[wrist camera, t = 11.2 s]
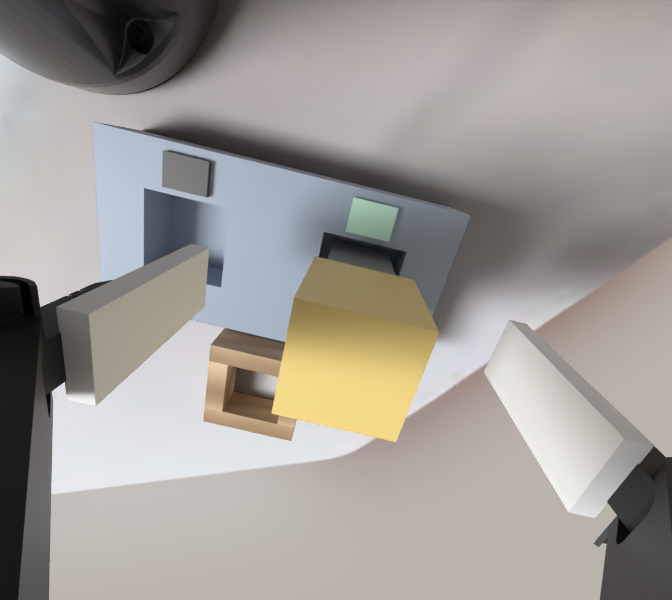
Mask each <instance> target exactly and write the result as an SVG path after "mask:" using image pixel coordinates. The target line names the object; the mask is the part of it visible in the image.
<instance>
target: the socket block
mask: <svg viewBox="0 0 672 600" xmlns="http://www.w3.org/2000/svg"><path fill="white" fill-rule="evenodd" d="M93 137H94V157H95V177H96V198H97V218H98V238H99V258H100V278H101V282H104V281H108V280H115V279H117V278H119V277H121V276H123V275H125V274H128V273H130V272H132V271H134V270H136V269H138V268H140V267H143V266H145V265H147V264H149V263H151V262H153V261H155V260H158V259H160V258H162V257H164V256H166V255H168V254H170V253H173V252H175V251H177V250H179V249H181V248H183V247H185V246H188V245H190V244H194V245H199V246H203V247H207V248H209V258H208V270H207V283H206V296H205V307H204V308H202V309H201V310H200V311H199V312H198V313H197V314H196V315H195V316H194V317H193V318H192V319H190V320H193V321H198V322H202V323H206V324H210V325H215V326H219V327H223V328H228V329H232V330H236V331H240V332H245V333H249V334H253V335H257V336H262V337H266V338H270V339H274V340H279V341H283V342H285V341H286V336H287V331H288V325H289V320H290V315H291V310H292V305H293V300H294V296H295V294H296V292H297V290H298V288H299V287H300V285H301V283H302V281H303V279H304V277H305V275H306V273H307V271H308V269H309V267H310V265H311V263H312V261H313V259H314V257H315V256H317V257H321V258H325V259H328V256H329V253H330V250H331V247H332V245H333V242H334V239H339V240H343V241H347V242H351V243H355V244H359V245H363V246H368V247H372V248H376V249H380V250H384V251H387V252H388V255H389V258H390V261H391V263H392V266H393V269H394V272H395V275H396V276H399V277H404V278H408V279H412V280H414V281H415V283H416V285H417V287H418V289H419V291H420V293H421V295H422V297H423V299H424V301H425V303H426V305H427V307H428V310H429V312H430V314H431V316H432V317H433V315H434V312H435V309H436V307H437V304H438V301H439V299H440V296H441V294H442V291H443V288H444V286H445V283H446V280H447V278H448V275H449V272H450V270H451V267H452V265H453V262H454V259H455V257H456V254H457V251H458V249H459V246H460V244H461V241H462V238H463V236H464V233H465V230H466V228H467V225H468V222H469V220H470V217H471V215H469V214H466V213H464V212H462V211H459V210H457V209H454V208H452V207H448V206H444V205H440V204H436V203H432V202H428V201H424V200H420V199H416V198H412V197H408V196H404V195H400V194H396V193H392V192H388V191H384V190H380V189H376V188H372V187H368V186H364V185H360V184H355V183H351V182H347V181H343V180H339V179H335V178H331V177H327V176H323V175H319V174H315V173H311V172H307V171H303V170H299V169H295V168H291V167H287V166H283V165H279V164H275V163H271V162H267V161H263V160H259V159H254V158H250V157H246V156H242V155H238V154H234V153H230V152H226V151H222V150H218V149H214V148H210V147H206V146H202V145H198V144H194V143H190V142H186V141H182V140H178V139H174V138H170V137H166V136H162V135H158V134H153V133H149V132H145V131H141V130H136V129H130V128H124V127H119V126H113V125H107V124H102V123H96V122H93Z"/></svg>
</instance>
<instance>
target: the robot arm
mask: <svg viewBox="0 0 672 600" xmlns="http://www.w3.org/2000/svg"><path fill="white" fill-rule="evenodd" d="M218 3H219V0H0V53H1V54H2V55H4V56H6V57H7V58H9V59H10V60H12V61H13V62H15V63H17V64H18V65H20V66H22V67H24V68H26V69H28V70H30V71H32V72H34V73H36V74H38V75H41V76H43V77H45V78H48V79H50V80H53V81H56V82H59V83H63V84H66V85H70V86H73V87H77V88H80V89H83V90H87V91H91V92H95V93H101V94H113V95H120V94H130V93H136V92H140V91H144V90H147V89H150V88H152V87H154V86H156V85H159V84H161V83H162V82H164V81H166V80H167V79H169V78H170V77H172V76H173V75H174V74H176V73H177V72H178V71H179V70H180V69H181V68H182V67H183V66H184V65H185V64H186V63H187V62H188V61H189V60H190V59H191V57H192V56H193V55H194V54H195V52H196V51H197V49H198V48H199V46H200V45H201V43H202V41H203V40H204V38H205V36H206V34H207V32H208V30H209V28H210V26H211V24H212V21H213V18H214V16H215V13H216V10H217V6H218ZM208 258H209V248H207V247H203V246H199V245H194V244H190V245H188V246H185V247H183V248H181V249H179V250H177V251H175V252H173V253H170V254H168V255H166V256H164V257H162V258H160V259H158V260H155V261H153V262H151V263H149V264H147V265H145V266H143V267H140V268H138V269H136V270H134V271H132V272H130V273H128V274H125V275H123V276H121V277H119V278H117V279H115V280H108V281H104V282H99V283H94V284H92V285H89V286H87V287H85V288H83V289H80V291H76V292H74V293H71V294H69V296H65V297H62V298H60V299H58V300H56V301H54V302H51V303H49V304H47V305H45V306H42V307H40V304H39V297H38V290H37V285H36V283H35V282H34V281H31V280H29V279H26V278H21V277H14V276H0V600H49V561H50V518H51V517H50V516H51V472H52V427H53V398H52V391H53V390H54V389H55V388H57V387H58V386H59V385H61V384H62V383H64V382H65V387H66V395H67V400H71V401H76V402H80V403H85V404H89V405H94V406H96V405H97V404H98V403H100V402H101V401H102V400H103V399H104V398H105V397H106V396H107V395H108V394H109V393H110V392H112V391H113V390H114V389H115V388H116V387H117V386H118V385H119V384H120V383H121V382H123V381H124V380H125V379H126V378H127V377H128V376H129V375H130V374H131V373H132V372H133V371H135V370H136V369H137V368H138V367H139V366H140V365H141V364H142V363H143V362H144V361H146V360H147V359H148V358H149V357H150V356H151V355H152V354H153V353H154V352H155V351H156V350H158V349H159V348H160V347H161V346H162V345H163V344H164V343H165V342H166V341H167V340H169V339H170V338H171V337H172V336H173V335H174V334H175V333H176V332H177V331H178V330H179V329H181V328H182V327H183V326H184V325H185V324H186V323H187V322H188V321H189V320H190V319H192V318H193V317H194V316H195V315H196V314H197V313H198V312H199V311H200V310H201V309H202V308H204V307H205V296H206V283H207V270H208ZM484 373H485V375H486V376H487V378H488V380H489V381H490V383H491V384H492V386H493V388H494V389H495V391H496V393H497V394H498V396H499V398H500V399H501V401H502V403H503V404H504V406H505V408H506V409H507V411H508V413H509V414H510V416H511V417H512V419H513V421H514V423H515V424H516V426H517V428H518V429H519V431H520V433H521V434H522V436H523V438H524V439H525V441H526V442H527V444H528V446H529V447H530V449H531V451H532V452H533V454H534V456H535V457H536V459H537V461H538V462H539V464H540V466H541V467H542V469H543V471H544V472H545V474H546V476H547V477H548V479H549V480H550V482H551V484H552V486H553V487H554V489H555V490H556V492H557V494H558V496H559V497H560V499H561V501H562V502H563V504H564V506H565V507H566V509H567V510H568V512H570V513H575V514H579V515H583V516H588V517H592V518H595V517H596V516H597V515H598V514H599V512H600V511H601V510H602V509H603V508H604V506H605V505H606V504H607V503H609V505H610V506H611V508H612V509H613V510H614V512H615V513H616V514H617V517H616V518H615V519H614V520H613V521H612V522H611V523H610V525H609V526H608V527H607V528H606V529H605V530H604V532H603V533H602V534H601V535H600V536H599V537H598V539H597V540H596V541H595V543H594V544H595V545H597V546H598V547H599V546H600V545H601V544H602V543H607V547H606V555H605V563H604V571H603V579H602V587H601V595H600V600H672V457H667V458H666V457H665V456H664V455H663V454H662V453H661V452H660V451H659V450H658V449H657V448H655V447H654V445H653V444H652V443H651V442H650V441H649V440H648V439H647V438H646V437H645V436H644V435H643V434H642V433H641V432H640V431H639V430H638V429H637V428H635V427H634V426H633V425H632V424H631V423H630V422H629V421H628V420H627V419H626V418H625V417H624V416H623V415H622V414H621V413H620V412H619V411H617V410H616V409H615V408H614V407H613V406H612V405H611V404H610V403H609V402H608V401H607V400H606V399H605V398H604V397H603V396H602V395H601V394H600V393H599V392H597V390H595V389H594V388H593V387H592V386H591V385H590V384H589V383H588V382H587V381H586V380H585V379H584V378H583V377H582V376H581V375H579V374H578V372H576V371H575V370H574V369H573V368H572V367H571V366H570V365H569V364H568V363H567V362H566V361H565V360H564V359H563V358H562V357H561V356H560V355H559V354H558V353H556V352H555V351H554V350H553V349H552V348H551V347H550V346H549V345H548V344H547V343H546V342H545V341H544V340H543V339H542V338H541V337H540V336H539V335H537V334H536V333H535V332H534V331H533V330H532V329H531V328H530V327H529V326H528V325H527V324H525V323H520V322H516V321H512V320H509V322H508V324H507V326H506V328H505V330H504V332H503V334H502V336H501V338H500V340H499V342H498V344H497V346H496V348H495V350H494V352H493V354H492V356H491V358H490V361H489V363H488V365H487V367H486V369H485V371H484Z"/></svg>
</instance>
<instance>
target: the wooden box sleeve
mask: <svg viewBox="0 0 672 600" xmlns="http://www.w3.org/2000/svg"><path fill="white" fill-rule="evenodd" d="M284 346H285V343H283V342H279V341H275V340H270V339H266V338H262V337H258V336H253V335H249V334H245V333H241V332H236V331H232V330H228V329H224V330H223V331H222V332H221V333H220V334H219V336H218V337H217V338H216V339H215V340H214V342H213V343H212V344H211V347H210V358H209V369H208V379H207V390H206V400H205V411H204V421H205V422H210V423H214V424H219V425H223V426H227V427H232V428H236V429H241V430H245V431H249V432H254V433H258V434H263V435H267V436H271V437H276V438H280V439H285V440H289V441H291V440H292V436H293V432H294V428H295V424H296V420H297V419H293V418H289V417H284V416H280V415H275V414H271V413H272V408H273V403H274V400H270V399H266V398H262V397H257V396H253V395H249V394H244V393H240V392H236V391H234V385H235V378H236V370H237V367H238V368H242V369H246V370H251V371H255V372H259V373H264V374H268V375H272V376H277V377H279V372H280V367H281V361H282V356H283V351H284Z"/></svg>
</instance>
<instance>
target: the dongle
mask: <svg viewBox="0 0 672 600" xmlns="http://www.w3.org/2000/svg"><path fill="white" fill-rule="evenodd" d="M438 335H439V330H438V328H437V326H436V324H435V322H434V320H433V318H432V316H431V314H430V312H429V310H428V307H427V305H426V303H425V301H424V299H423V297H422V295H421V293H420V291H419V289H418V287H417V285H416V283H415V281H414V280H412V279H408V278H404V277H399V276H396V275H395V272H394V269H393V266H392V263H391V261H390V258H389V255H388V252H387V251H384V250H380V249H376V248H372V247H368V246H363V245H359V244H355V243H351V242H347V241H343V240H339V239H334V242H333V245H332V247H331V250H330V253H329V256H328V259H325V258H321V257H317V256H315V257H314V259H313V261H312V263H311V265H310V267H309V269H308V271H307V273H306V275H305V277H304V279H303V281H302V283H301V285H300V287H299V288H298V290H297V292H296V294H295V296H294V300H293V305H292V310H291V315H290V320H289V325H288V331H287V336H286V341H285V346H284V351H283V356H282V361H281V367H280V372H279V377H278V382H277V387H276V392H275V397H274V403H273V408H272V413H271V414H275V415H280V416H284V417H289V418H293V419H297V420H302V421H306V422H310V423H315V424H319V425H323V426H328V427H332V428H337V429H341V430H345V431H350V432H354V433H358V434H363V435H367V436H371V437H376V438H380V439H385V440H389V441H394V442H396V441H397V438H398V436H399V433H400V431H401V428H402V426H403V423H404V421H405V418H406V416H407V413H408V410H409V408H410V405H411V403H412V400H413V398H414V395H415V393H416V390H417V388H418V385H419V383H420V380H421V378H422V375H423V373H424V370H425V368H426V365H427V363H428V360H429V358H430V355H431V353H432V350H433V347H434V345H435V342H436V340H437V337H438Z"/></svg>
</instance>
